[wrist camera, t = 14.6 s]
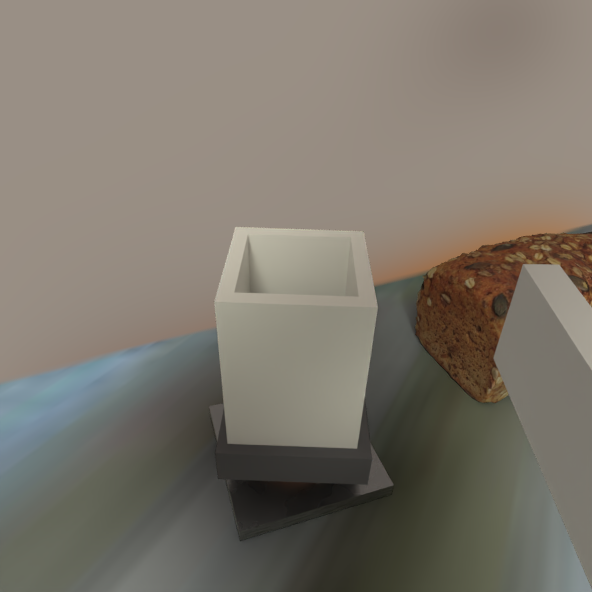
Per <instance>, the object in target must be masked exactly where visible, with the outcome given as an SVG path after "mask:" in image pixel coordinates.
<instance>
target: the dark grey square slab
mask: <svg viewBox="0 0 592 592" xmlns="http://www.w3.org/2000/svg"><path fill="white" fill-rule="evenodd" d="M215 458H216V466H217V475H218V479H230V480H256V481H283V482H309V483H335V484H361V485H368V480H369V474H370V469H371V463H372V453H371V445H370V436H369V428H368V419H367V411H366V402H365V398H364V405H363V412H362V418H361V425H360V432H359V439H358V445H357V449H354V448H327V447H300V446H273V445H247V444H227V433H226V423H225V412H224V410H223V415H222V420H221V425H220V430H219V436H218V441H217V446H216V451H215Z"/></svg>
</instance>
